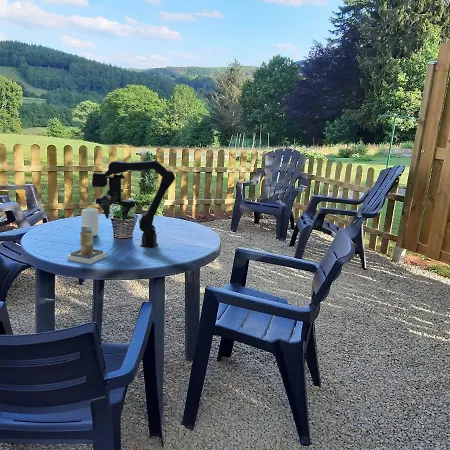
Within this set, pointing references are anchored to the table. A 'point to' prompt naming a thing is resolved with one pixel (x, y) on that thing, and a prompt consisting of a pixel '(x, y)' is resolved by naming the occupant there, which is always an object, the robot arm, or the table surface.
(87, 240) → the pepper mill
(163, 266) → the table surface
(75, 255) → the stand
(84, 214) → the cup
